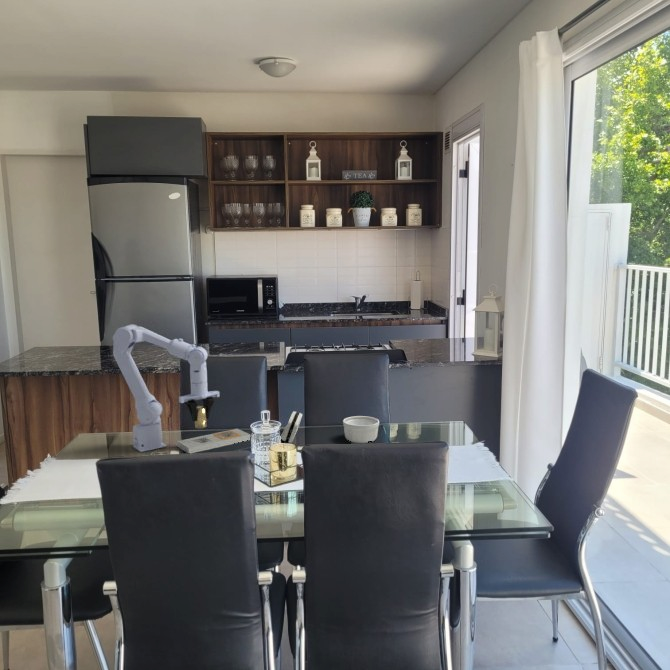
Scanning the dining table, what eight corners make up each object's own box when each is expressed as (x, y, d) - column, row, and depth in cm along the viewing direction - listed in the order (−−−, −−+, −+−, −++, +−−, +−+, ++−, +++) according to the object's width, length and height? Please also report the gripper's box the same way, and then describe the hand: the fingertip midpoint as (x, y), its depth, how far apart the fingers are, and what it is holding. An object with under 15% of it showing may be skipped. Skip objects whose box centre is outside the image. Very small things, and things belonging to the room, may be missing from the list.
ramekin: (382, 434, 218) (382, 416, 217) (375, 445, 205) (375, 426, 204) (347, 432, 221) (347, 414, 220) (339, 443, 209) (339, 424, 208)
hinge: (284, 429, 226) (292, 405, 225) (296, 433, 226) (304, 409, 225) (277, 442, 210) (286, 417, 208) (290, 447, 210) (299, 421, 208)
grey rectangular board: (189, 453, 199) (188, 447, 199) (177, 446, 207) (177, 440, 206) (250, 439, 213) (250, 434, 213) (237, 433, 221) (237, 428, 221)
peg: (197, 429, 203) (197, 409, 202) (193, 426, 207) (192, 407, 206) (208, 427, 206) (207, 407, 205) (203, 424, 209) (202, 405, 208)
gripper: (183, 386, 197) (185, 425, 198) (222, 380, 205) (224, 418, 207) (175, 383, 202) (177, 421, 204) (213, 377, 211) (215, 414, 213)
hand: (200, 419), depth 206 cm, fingers closed on peg, 4 cm apart
